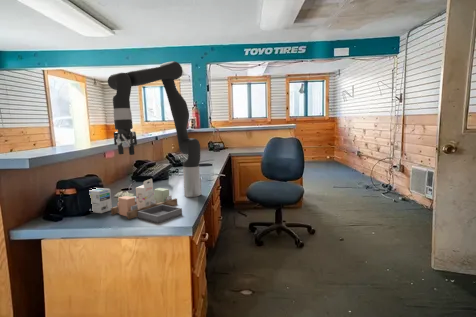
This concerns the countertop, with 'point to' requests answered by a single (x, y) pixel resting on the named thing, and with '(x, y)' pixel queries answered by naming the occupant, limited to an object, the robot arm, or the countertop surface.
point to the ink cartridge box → (144, 194)
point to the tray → (159, 213)
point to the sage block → (160, 195)
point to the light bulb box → (100, 200)
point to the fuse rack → (134, 208)
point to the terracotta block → (125, 204)
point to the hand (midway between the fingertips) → (126, 154)
